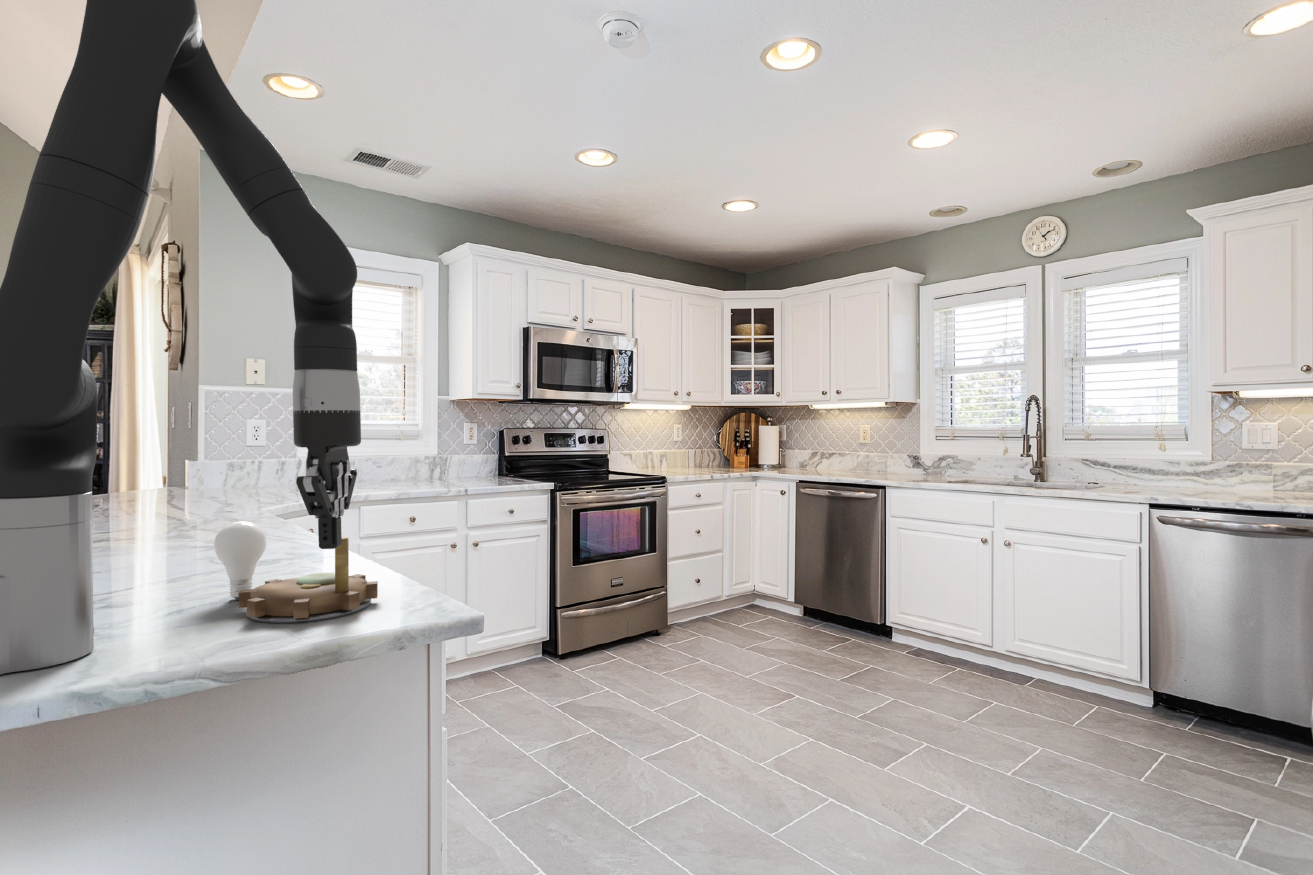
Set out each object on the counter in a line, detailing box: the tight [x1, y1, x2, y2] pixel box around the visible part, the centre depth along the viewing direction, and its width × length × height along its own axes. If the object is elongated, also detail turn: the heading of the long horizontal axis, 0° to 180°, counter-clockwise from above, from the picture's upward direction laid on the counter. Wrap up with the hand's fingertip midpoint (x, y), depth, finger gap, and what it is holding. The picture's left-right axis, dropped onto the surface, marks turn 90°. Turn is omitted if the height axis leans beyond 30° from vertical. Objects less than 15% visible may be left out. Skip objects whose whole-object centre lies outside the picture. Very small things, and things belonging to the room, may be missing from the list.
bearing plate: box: [245, 599, 372, 625], centre depth 92 cm, size 15×15×1 cm
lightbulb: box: [213, 520, 268, 601], centre depth 96 cm, size 6×6×11 cm
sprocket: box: [238, 536, 379, 619], centre depth 92 cm, size 17×17×9 cm
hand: (330, 547), depth 85 cm, fingers closed
